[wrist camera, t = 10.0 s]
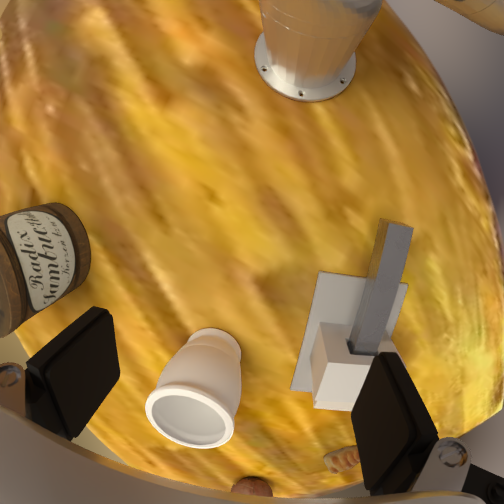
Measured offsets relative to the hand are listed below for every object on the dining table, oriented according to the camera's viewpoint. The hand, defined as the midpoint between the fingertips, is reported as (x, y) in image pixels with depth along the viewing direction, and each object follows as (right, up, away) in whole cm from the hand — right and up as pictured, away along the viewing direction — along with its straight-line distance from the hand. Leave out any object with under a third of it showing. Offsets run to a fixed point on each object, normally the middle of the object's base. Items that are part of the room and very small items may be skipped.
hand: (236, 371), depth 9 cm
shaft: (+15, -2, +24) cm, 28 cm away
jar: (-5, -11, +33) cm, 35 cm away
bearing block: (+14, -9, +30) cm, 35 cm away
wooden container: (-31, +5, +31) cm, 45 cm away
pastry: (+20, -37, +38) cm, 57 cm away
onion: (+1, -49, +43) cm, 65 cm away
